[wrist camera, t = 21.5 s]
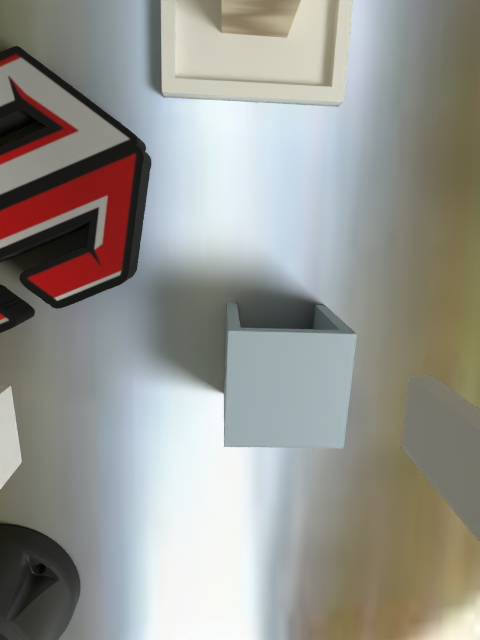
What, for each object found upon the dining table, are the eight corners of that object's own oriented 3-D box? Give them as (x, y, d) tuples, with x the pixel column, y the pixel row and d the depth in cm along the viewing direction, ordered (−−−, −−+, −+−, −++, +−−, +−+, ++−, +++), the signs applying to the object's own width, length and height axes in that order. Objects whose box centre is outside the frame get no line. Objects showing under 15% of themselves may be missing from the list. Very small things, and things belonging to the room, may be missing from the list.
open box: (223, 393, 39) (224, 446, 30) (226, 302, 37) (227, 330, 28) (316, 395, 39) (343, 448, 31) (324, 305, 37) (356, 334, 28)
